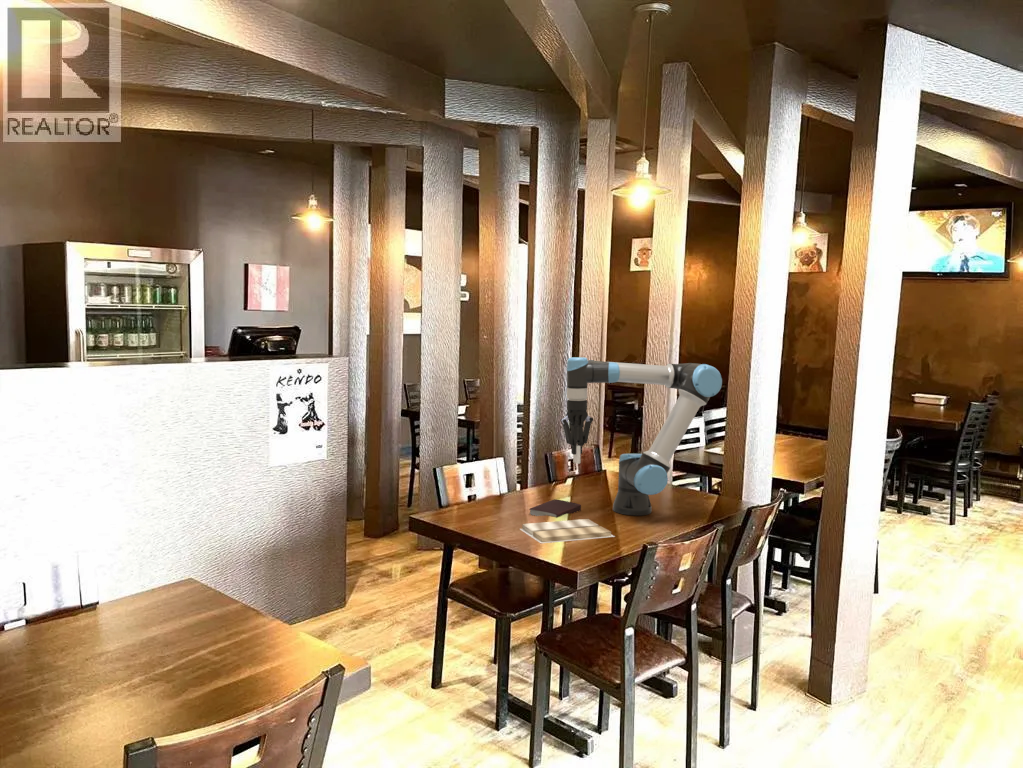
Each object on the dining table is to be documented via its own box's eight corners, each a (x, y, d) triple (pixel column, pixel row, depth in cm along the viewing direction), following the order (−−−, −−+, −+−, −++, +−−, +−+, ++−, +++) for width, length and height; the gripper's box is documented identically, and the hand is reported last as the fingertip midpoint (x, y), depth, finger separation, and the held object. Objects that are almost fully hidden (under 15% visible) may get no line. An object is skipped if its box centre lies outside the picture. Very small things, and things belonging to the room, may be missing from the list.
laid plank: (600, 530, 265) (600, 526, 265) (611, 536, 258) (611, 531, 258) (533, 536, 255) (533, 531, 255) (542, 542, 248) (542, 537, 248)
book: (581, 511, 297) (581, 503, 297) (556, 521, 281) (557, 512, 281) (553, 506, 304) (554, 498, 304) (528, 516, 288) (528, 507, 288)
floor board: (589, 525, 274) (590, 523, 274) (614, 539, 258) (615, 536, 258) (519, 531, 264) (519, 528, 264) (540, 546, 247) (540, 543, 247)
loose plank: (587, 522, 274) (588, 518, 274) (598, 529, 266) (598, 525, 266) (522, 528, 264) (522, 524, 264) (531, 535, 257) (531, 530, 256)
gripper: (587, 397, 282) (586, 459, 284) (556, 399, 277) (556, 462, 279) (597, 399, 276) (597, 463, 278) (566, 401, 270) (566, 466, 272)
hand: (576, 462), depth 278 cm, fingers closed
